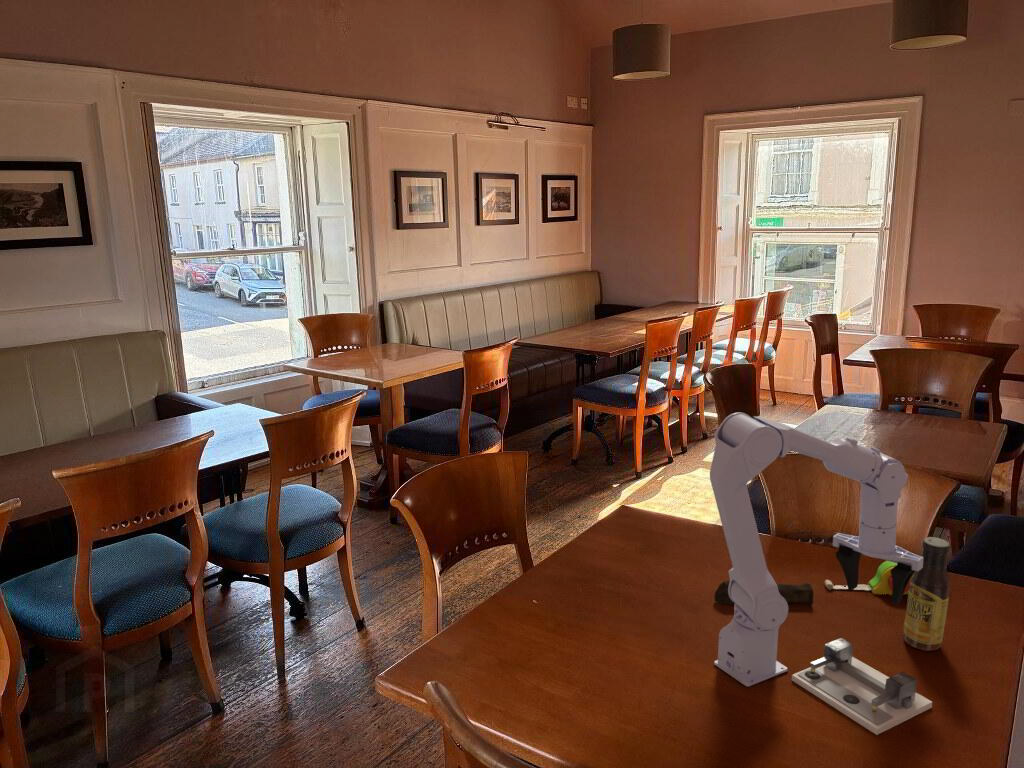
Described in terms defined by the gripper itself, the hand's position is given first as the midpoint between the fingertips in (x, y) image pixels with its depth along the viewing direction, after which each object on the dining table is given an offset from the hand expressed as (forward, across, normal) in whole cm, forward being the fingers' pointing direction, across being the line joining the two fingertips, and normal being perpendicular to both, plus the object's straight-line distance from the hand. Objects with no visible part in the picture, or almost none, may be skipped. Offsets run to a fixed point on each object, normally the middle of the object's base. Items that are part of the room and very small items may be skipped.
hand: (874, 595), depth 135 cm
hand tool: (+11, +22, -1) cm, 24 cm away
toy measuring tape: (+12, +10, -22) cm, 27 cm away
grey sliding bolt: (+9, -10, +15) cm, 20 cm away
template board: (+10, -4, +14) cm, 18 cm away
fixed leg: (+9, +1, +13) cm, 15 cm away
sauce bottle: (+11, -5, -9) cm, 15 cm away
